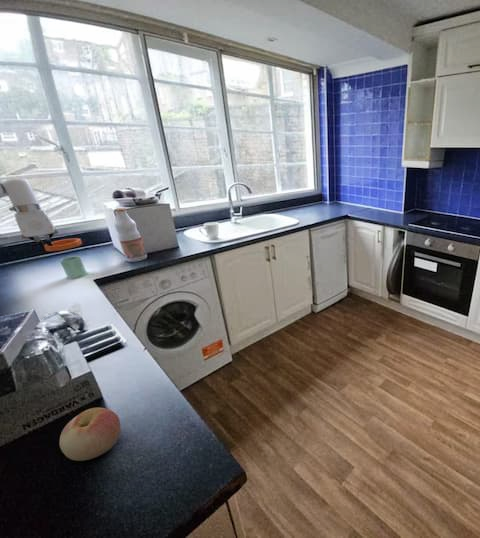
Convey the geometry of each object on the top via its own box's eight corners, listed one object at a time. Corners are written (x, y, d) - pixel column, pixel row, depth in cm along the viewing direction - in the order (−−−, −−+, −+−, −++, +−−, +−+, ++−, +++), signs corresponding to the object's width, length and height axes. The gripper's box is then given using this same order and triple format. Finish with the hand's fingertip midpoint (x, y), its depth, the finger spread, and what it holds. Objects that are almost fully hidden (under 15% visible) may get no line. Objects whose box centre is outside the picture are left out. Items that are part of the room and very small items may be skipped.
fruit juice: (122, 262, 158) (103, 210, 147) (137, 256, 166) (120, 206, 155) (137, 263, 156) (118, 210, 145) (151, 256, 165) (135, 206, 154)
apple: (106, 424, 64) (92, 397, 61) (136, 434, 62) (123, 406, 59) (59, 462, 57) (40, 434, 53) (91, 475, 54) (73, 446, 51)
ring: (45, 253, 128) (43, 248, 127) (46, 246, 136) (44, 242, 136) (82, 246, 136) (81, 241, 135) (81, 240, 144) (79, 236, 143)
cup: (68, 280, 138) (60, 262, 134) (67, 276, 142) (59, 258, 139) (87, 275, 142) (80, 258, 139) (86, 271, 147) (79, 255, 143)
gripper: (-1, 212, 118) (22, 255, 125) (52, 206, 128) (70, 246, 135) (2, 210, 123) (23, 251, 130) (53, 204, 133) (70, 243, 140)
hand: (47, 248), depth 133 cm, fingers closed on ring, 1 cm apart
